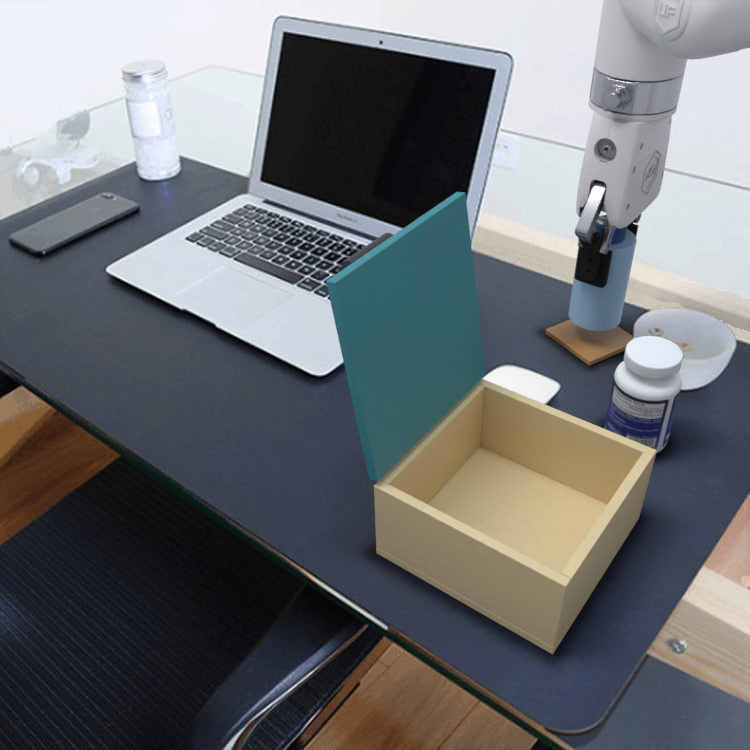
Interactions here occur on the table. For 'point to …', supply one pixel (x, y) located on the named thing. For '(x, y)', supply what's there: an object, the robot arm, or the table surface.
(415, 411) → the teal box lid
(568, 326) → the coaster mat
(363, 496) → the table surface
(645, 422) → the pill bottle
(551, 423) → the tan wooden box
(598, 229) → the water bottle
